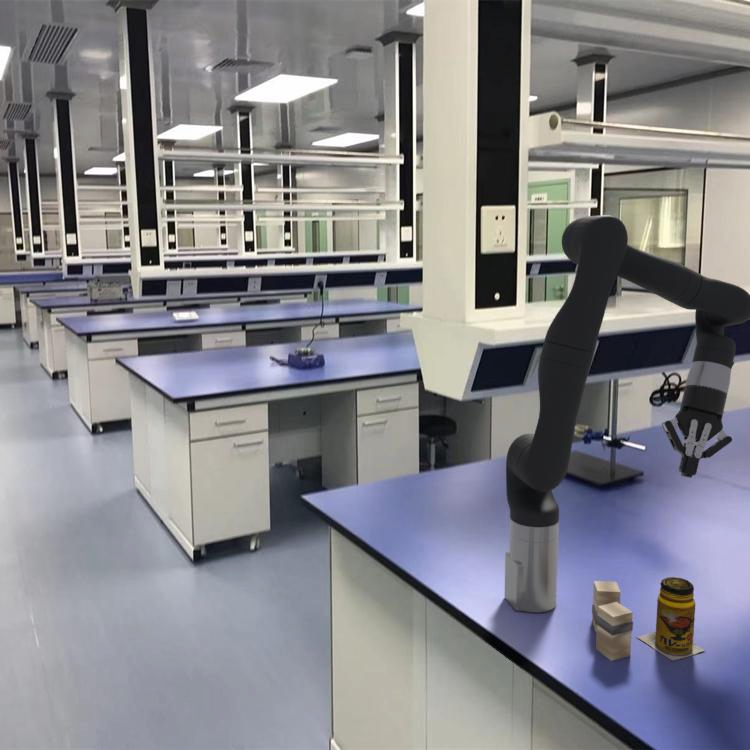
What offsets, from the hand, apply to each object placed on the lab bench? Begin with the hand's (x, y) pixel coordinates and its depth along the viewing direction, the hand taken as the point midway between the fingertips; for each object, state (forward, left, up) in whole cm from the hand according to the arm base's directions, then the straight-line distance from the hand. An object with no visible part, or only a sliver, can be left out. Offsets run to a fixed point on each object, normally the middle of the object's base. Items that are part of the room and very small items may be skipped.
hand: (686, 476), depth 140 cm
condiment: (-10, -13, -26) cm, 31 cm away
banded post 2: (-21, -13, -26) cm, 36 cm away
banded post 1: (-18, -5, -26) cm, 32 cm away
